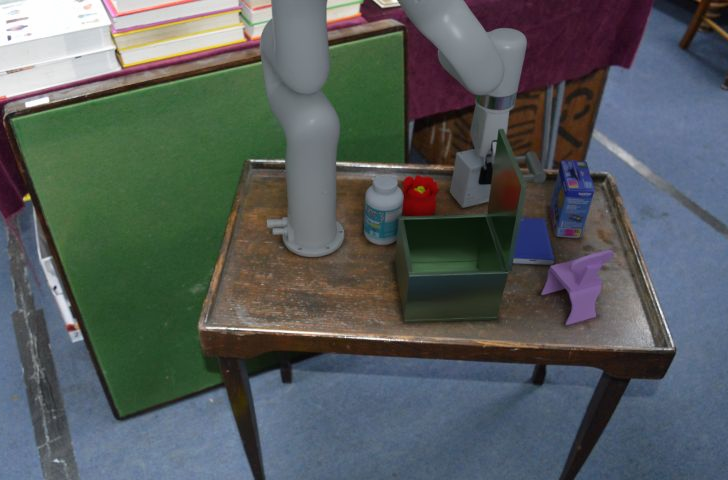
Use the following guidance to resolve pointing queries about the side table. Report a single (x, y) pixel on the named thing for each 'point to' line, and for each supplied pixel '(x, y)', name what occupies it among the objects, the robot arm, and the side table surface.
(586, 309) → the purple stand
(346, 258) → the side table surface
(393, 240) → the pill bottle
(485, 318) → the green open box
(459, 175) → the cosmetics box
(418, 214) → the flower
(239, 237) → the side table surface
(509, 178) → the green box lid
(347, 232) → the side table surface
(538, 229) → the hard drive
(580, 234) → the ink cartridge box
